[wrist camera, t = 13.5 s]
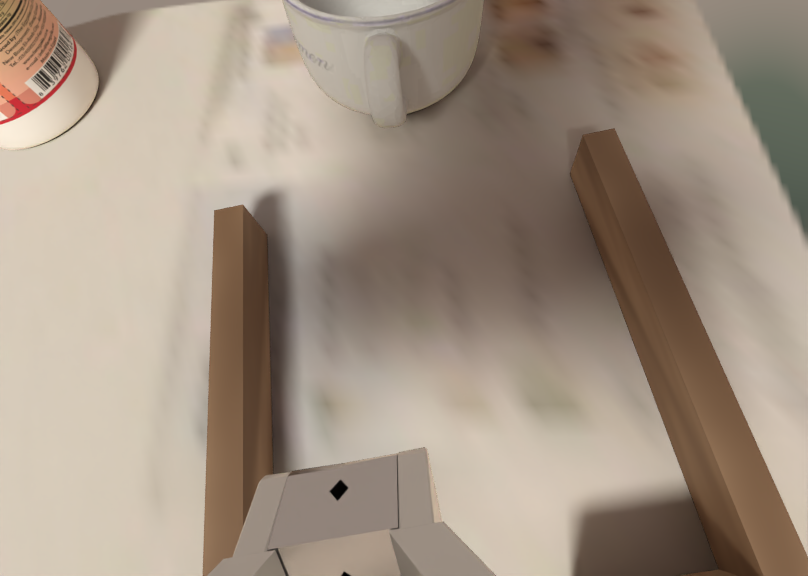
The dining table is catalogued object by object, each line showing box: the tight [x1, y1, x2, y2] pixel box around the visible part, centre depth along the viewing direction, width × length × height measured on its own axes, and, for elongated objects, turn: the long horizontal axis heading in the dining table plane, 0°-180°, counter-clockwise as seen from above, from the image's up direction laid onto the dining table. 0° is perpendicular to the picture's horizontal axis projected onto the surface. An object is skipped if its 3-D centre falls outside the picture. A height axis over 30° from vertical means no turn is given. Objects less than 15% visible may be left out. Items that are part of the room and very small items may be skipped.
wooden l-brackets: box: [203, 129, 808, 576], centre depth 19 cm, size 20×20×3 cm
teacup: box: [282, 0, 484, 128], centre depth 25 cm, size 14×11×8 cm
